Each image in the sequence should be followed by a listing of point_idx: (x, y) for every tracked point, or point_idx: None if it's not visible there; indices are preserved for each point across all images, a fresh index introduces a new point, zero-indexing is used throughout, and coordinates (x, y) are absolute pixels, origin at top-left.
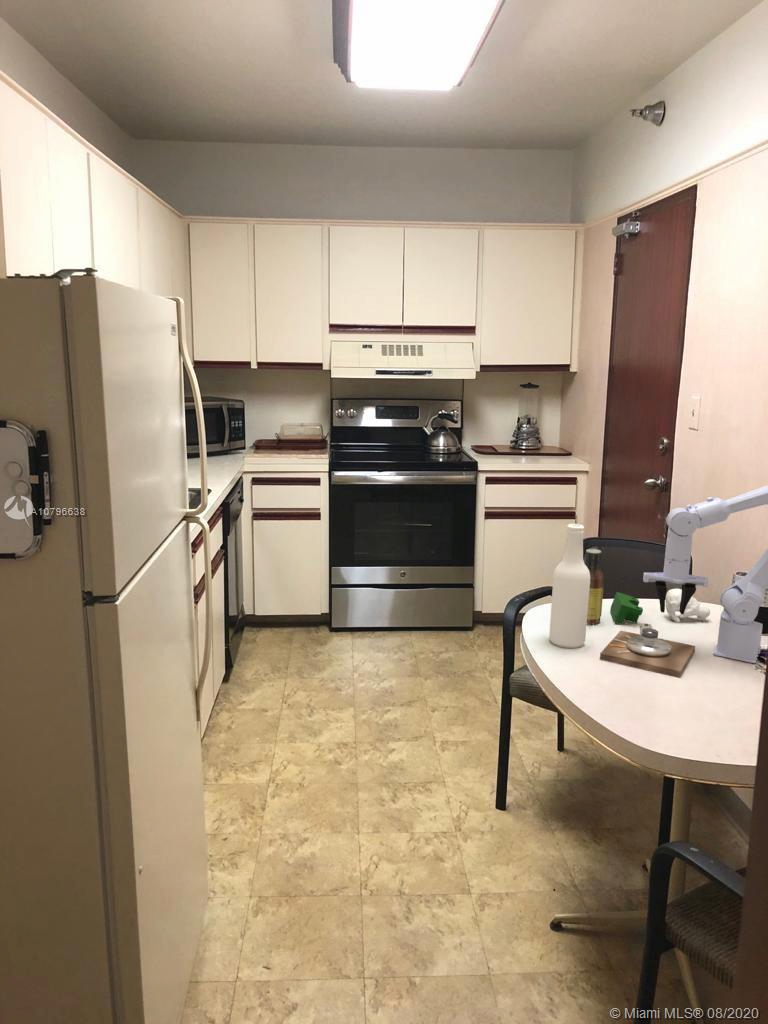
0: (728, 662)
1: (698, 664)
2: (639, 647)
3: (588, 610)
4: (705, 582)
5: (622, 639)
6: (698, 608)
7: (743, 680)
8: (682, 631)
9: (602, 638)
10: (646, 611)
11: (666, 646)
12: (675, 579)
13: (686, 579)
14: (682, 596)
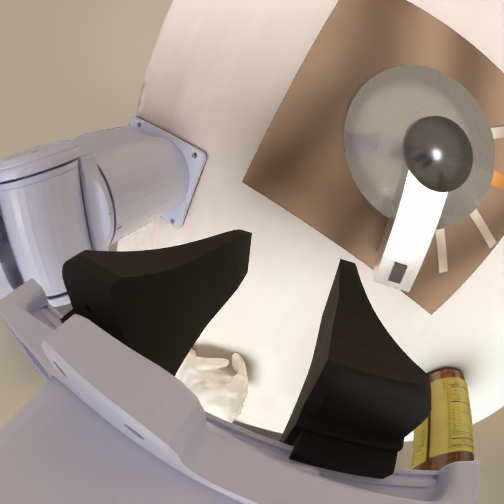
0: (183, 111)
1: (268, 77)
2: (469, 121)
3: (463, 396)
4: (15, 299)
5: (468, 244)
6: (185, 366)
7: (186, 10)
8: (241, 313)
9: (483, 289)
10: (283, 402)
11: (363, 123)
12: (140, 441)
13: (41, 361)
14: (194, 311)
